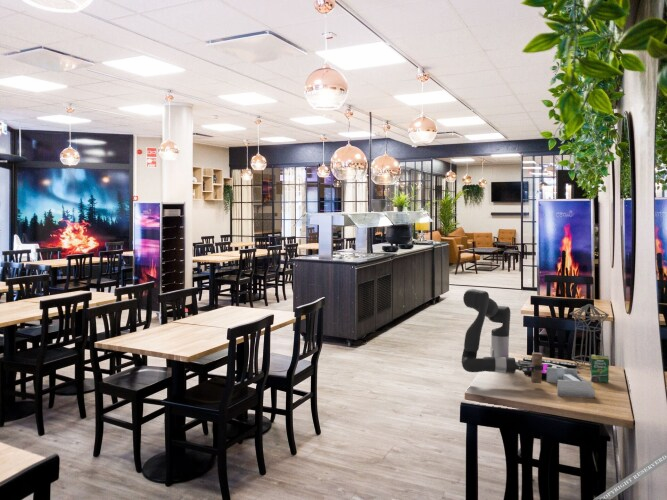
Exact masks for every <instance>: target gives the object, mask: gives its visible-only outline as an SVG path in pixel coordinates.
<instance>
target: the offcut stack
mask: <svg viewBox="0 0 667 500" xmlns="http://www.w3.org/2000/svg"><path fill="white" fill-rule="evenodd" d="M563 380H573V381H580V380H578V379H577V378H575V377H574V376H572V375H570V374H564V377H563Z"/></svg>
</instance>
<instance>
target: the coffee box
mask: <svg viewBox="0 0 667 500" xmlns="http://www.w3.org/2000/svg"><path fill="white" fill-rule="evenodd" d="M590 357H591V358H590V362H591V364H590V365H591V370H590V382H595V383H604V384H606V383H607V384H608V383H609V379H610V376H609V374H610V373H609V371H610V370H609V367H610V366H609V365H610V363H609V359H610V358H609V355H604V356H603V355H602V356H601V354H599V355H598V354H597V355H596V354H595V355H594V354H591V355H590Z"/></svg>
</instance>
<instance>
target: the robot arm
mask: <svg viewBox="0 0 667 500" xmlns="http://www.w3.org/2000/svg"><path fill="white" fill-rule="evenodd" d="M462 298H463V304H464V305H465V306H466V307H467V308H470V309H473V310H475V311H476V312H478V313H477V316H476V318H475V319H474V321H473V322H472V323H471V324H470V326H469V327H468V328H467V330H466V332H465V335H464V344H463V350H462V351H463V352H462V356H461V365H462V366H461V367H462V368H463V370H465V371H466V372H469V373H483V372H489V373H498V374H511V375H512V374H514V375H515V373H516V370H518V371H520V372H522V373H524V372H534V371H535V370H541V371H542V370H543V366H540V365H532V363H531V362H528V361H523V360H520V359H518V360H517V361H516V358H515V357H511V356H510V357H509V355H510V350H509V348H510V347H509V346H510V326H511V325H510V324H511V309H510V307H509V306H505V305H503V306H502V305H498V304H497V302H496V301H495V300H494V299H492V298H490V294H489V293H488V292H487V291H485V290H480V289H475V288H470V289H467V290H466V291H465V292H464V294H463V297H462ZM486 318H488V320H489V321H491V322H492V323H497V324H501V326H499V327H495V328H492V330H491V334H490V335H491V336H490V337H491V340H490V341H491V342H490V343H491V345H490V352H489V353H490V356H483V357H481V358H479V357H478V351H479V347H480V343H481V342H480V341H481V335H482V329H483V325H484V322H485V319H486ZM530 368H531V369H530Z"/></svg>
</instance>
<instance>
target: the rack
mask: <svg viewBox="0 0 667 500" xmlns="http://www.w3.org/2000/svg"><path fill="white" fill-rule="evenodd" d="M564 374H570V375H572V376H574V377H575V378H577V379H578V380H580V381H573V380H563V377H564ZM545 381H546V383H552V384H553V383H554V384H556V383H557V384H556V385H557V386H556V396H558V397H570V398H571V397H573V398H588V399H594V398H595V388H594V387H593V386H592V381H591V380H589V381H588V380H586V379H584V378H583V377H582V376H581V374H578V368H577V369H570V368H550V367H547V372H546V380H545Z"/></svg>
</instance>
